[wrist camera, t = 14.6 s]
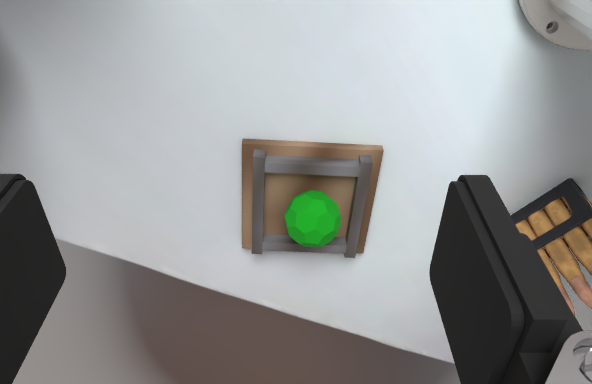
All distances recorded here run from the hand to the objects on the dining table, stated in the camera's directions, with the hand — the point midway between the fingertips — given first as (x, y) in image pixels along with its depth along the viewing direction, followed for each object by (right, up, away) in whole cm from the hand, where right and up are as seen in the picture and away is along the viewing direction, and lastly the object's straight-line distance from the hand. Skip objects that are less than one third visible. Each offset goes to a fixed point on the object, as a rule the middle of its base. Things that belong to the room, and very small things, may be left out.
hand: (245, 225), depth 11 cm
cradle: (+2, 0, +34) cm, 34 cm away
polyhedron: (+3, 0, +34) cm, 34 cm away
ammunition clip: (+23, -1, +36) cm, 43 cm away
